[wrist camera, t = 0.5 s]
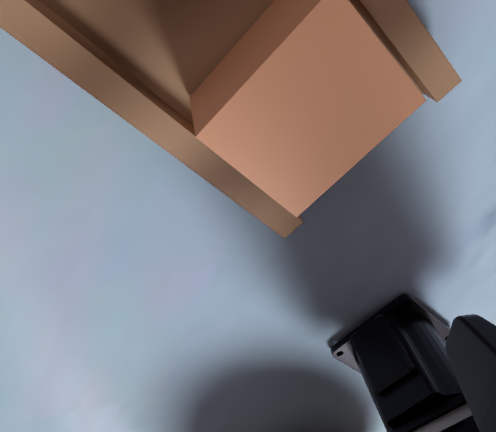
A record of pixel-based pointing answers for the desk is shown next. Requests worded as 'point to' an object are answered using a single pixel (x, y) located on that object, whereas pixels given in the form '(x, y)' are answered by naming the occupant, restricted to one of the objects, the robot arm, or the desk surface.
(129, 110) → the channel
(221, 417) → the desk surface
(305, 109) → the block
